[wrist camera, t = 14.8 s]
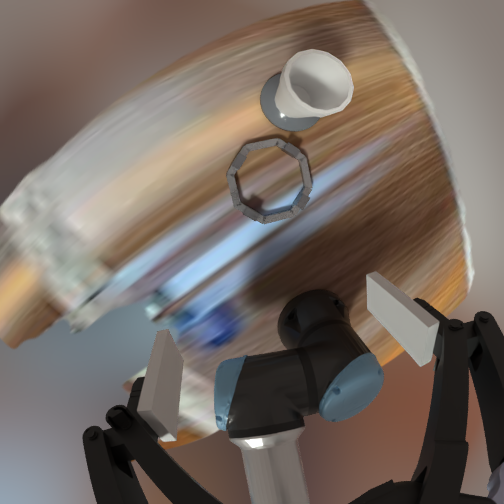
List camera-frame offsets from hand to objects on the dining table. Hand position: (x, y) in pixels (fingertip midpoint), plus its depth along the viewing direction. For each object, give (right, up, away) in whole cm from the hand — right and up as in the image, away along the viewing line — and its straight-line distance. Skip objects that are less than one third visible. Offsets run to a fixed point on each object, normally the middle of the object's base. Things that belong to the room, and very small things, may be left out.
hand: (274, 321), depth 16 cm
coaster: (+5, +30, +24) cm, 39 cm away
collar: (+2, +16, +28) cm, 33 cm away
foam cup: (+6, +30, +24) cm, 39 cm away
